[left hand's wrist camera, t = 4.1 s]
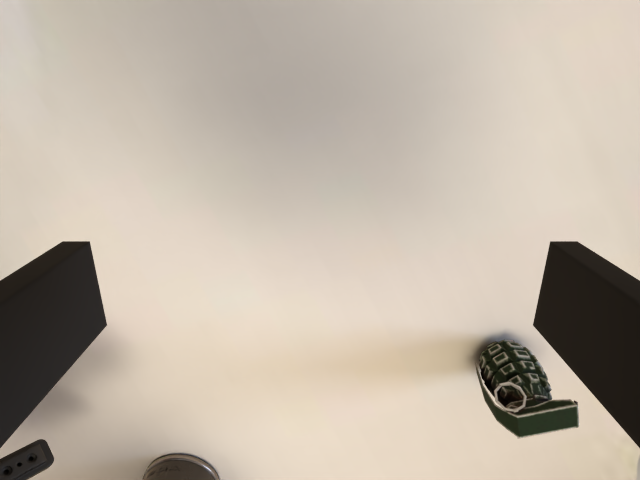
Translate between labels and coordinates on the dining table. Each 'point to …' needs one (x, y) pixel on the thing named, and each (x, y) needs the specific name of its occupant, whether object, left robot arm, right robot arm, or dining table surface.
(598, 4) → the dining table surface
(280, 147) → the dining table surface
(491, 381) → the grenade
